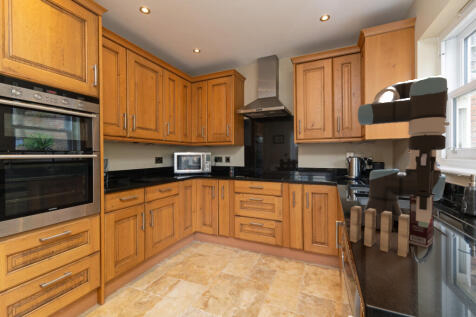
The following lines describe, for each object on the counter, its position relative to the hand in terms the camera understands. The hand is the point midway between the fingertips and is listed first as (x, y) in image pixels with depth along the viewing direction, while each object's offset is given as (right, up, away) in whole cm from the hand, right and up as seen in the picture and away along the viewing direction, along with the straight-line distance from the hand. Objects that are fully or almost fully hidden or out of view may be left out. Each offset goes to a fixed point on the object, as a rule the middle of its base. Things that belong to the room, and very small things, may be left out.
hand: (423, 219), depth 55 cm
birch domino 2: (-9, -11, +9) cm, 17 cm away
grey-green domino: (0, -2, 0) cm, 2 cm away
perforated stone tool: (+2, -11, +25) cm, 28 cm away
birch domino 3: (-6, -11, +6) cm, 14 cm away
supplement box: (+10, -12, +12) cm, 19 cm away
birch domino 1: (-12, -11, +12) cm, 20 cm away
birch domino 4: (-3, -11, +3) cm, 12 cm away
